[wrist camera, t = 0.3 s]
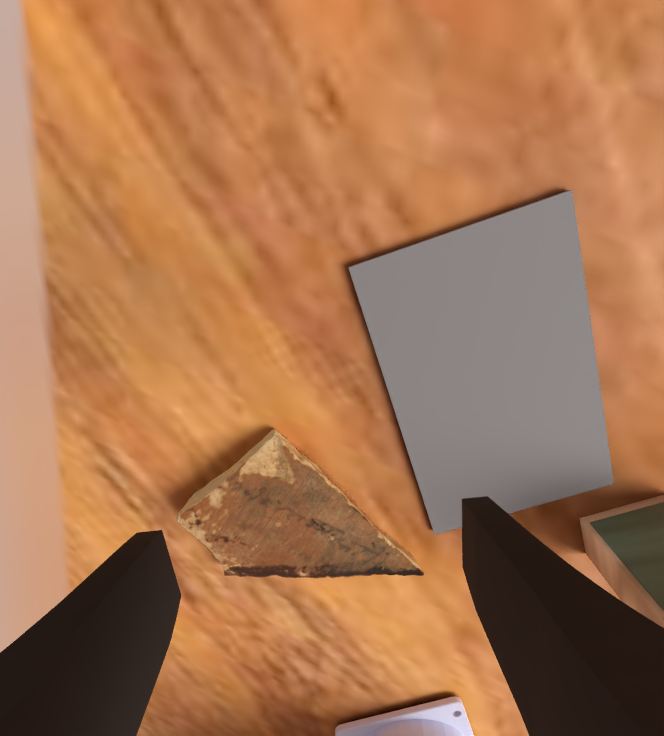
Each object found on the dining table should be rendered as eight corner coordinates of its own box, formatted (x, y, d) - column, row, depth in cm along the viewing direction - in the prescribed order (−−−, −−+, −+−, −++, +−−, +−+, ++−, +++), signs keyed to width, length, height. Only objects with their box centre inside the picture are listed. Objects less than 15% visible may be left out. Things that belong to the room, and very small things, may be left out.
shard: (419, 553, 24) (426, 579, 22) (313, 625, 25) (312, 655, 24) (280, 416, 21) (277, 434, 19) (170, 507, 23) (158, 531, 21)
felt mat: (610, 480, 22) (614, 484, 22) (433, 530, 23) (434, 535, 22) (567, 190, 17) (572, 190, 17) (347, 266, 18) (348, 267, 18)
